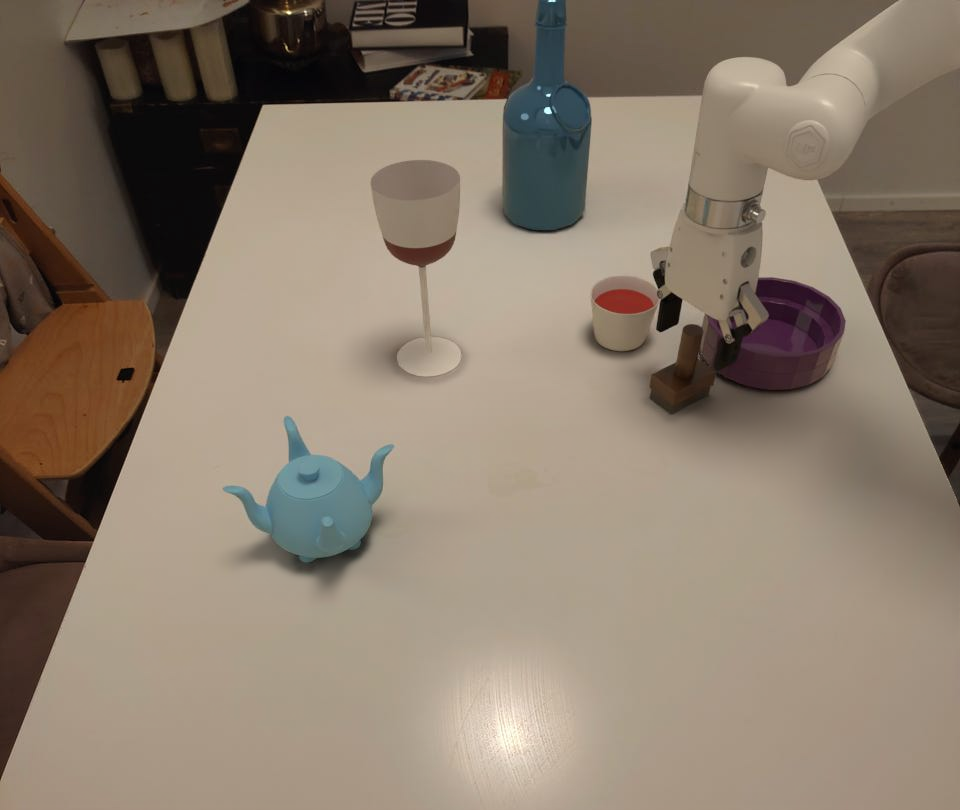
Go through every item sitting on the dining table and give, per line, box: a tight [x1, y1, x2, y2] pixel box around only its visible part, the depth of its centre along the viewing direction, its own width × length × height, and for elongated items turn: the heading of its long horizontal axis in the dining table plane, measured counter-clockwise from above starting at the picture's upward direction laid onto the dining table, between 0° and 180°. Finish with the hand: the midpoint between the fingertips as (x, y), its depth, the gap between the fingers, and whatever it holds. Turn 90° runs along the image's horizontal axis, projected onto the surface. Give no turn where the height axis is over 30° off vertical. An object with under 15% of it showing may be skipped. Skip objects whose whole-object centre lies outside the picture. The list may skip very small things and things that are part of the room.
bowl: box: [699, 276, 847, 391], centre depth 111 cm, size 17×17×6 cm
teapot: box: [222, 415, 395, 563], centre depth 91 cm, size 13×13×10 cm
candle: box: [589, 274, 660, 352], centre depth 113 cm, size 9×9×6 cm
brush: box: [649, 323, 717, 415], centre depth 104 cm, size 7×4×10 cm, turn 125°
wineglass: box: [370, 159, 462, 378], centre depth 104 cm, size 9×10×23 cm
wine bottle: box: [501, 0, 593, 231], centre depth 123 cm, size 14×13×30 cm
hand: (695, 346), depth 102 cm, fingers open, 9 cm apart
